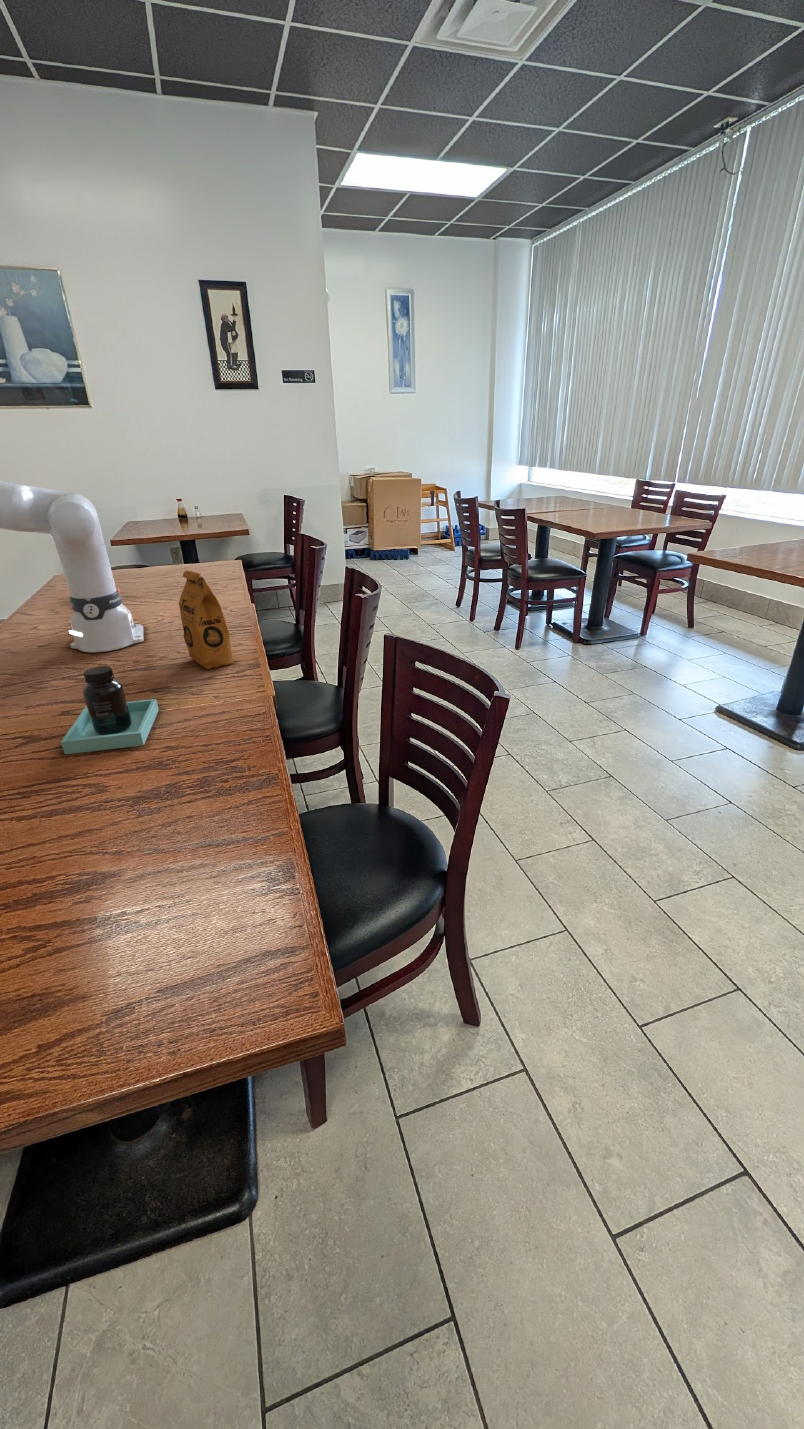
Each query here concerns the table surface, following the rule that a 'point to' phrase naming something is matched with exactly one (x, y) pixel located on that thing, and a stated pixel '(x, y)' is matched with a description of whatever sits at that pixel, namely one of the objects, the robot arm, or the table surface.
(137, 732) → the serving tray
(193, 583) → the coffee package
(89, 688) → the supplement bottle
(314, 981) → the table surface
